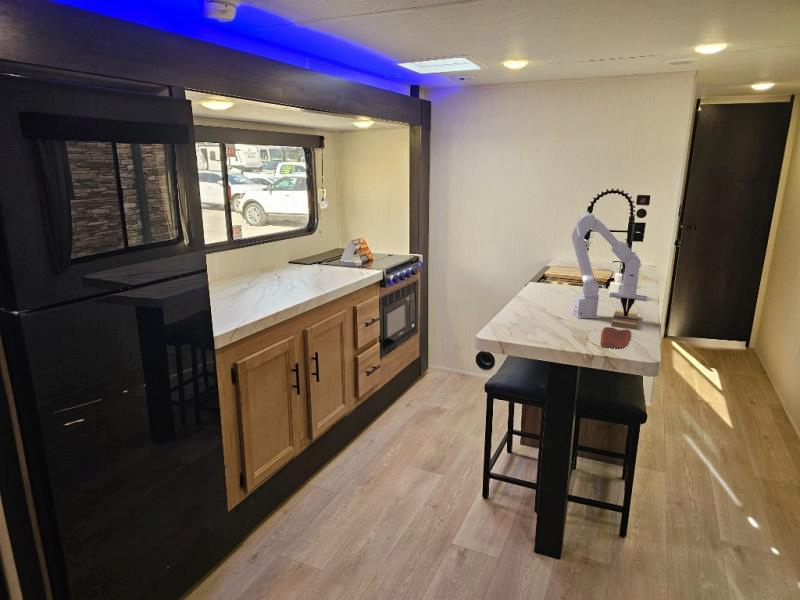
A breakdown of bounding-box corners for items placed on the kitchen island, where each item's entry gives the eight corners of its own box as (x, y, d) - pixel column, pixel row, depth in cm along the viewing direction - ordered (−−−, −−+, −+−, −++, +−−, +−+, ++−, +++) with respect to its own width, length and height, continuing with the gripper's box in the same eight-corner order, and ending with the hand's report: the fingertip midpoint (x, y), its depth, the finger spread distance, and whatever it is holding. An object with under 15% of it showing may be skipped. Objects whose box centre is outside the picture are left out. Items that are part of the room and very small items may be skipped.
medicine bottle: (620, 294, 267) (623, 271, 264) (629, 298, 260) (632, 274, 257) (608, 295, 265) (611, 272, 262) (617, 298, 258) (620, 275, 255)
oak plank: (636, 323, 217) (636, 318, 217) (613, 319, 221) (613, 315, 220) (637, 316, 227) (638, 312, 226) (615, 313, 230) (615, 309, 230)
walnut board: (635, 329, 209) (636, 323, 208) (611, 326, 212) (612, 320, 212) (636, 324, 216) (637, 318, 215) (612, 321, 219) (613, 315, 219)
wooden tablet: (603, 329, 211) (603, 325, 210) (630, 332, 206) (630, 328, 206) (596, 348, 187) (597, 344, 187) (627, 353, 183) (627, 348, 183)
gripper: (649, 284, 218) (644, 315, 221) (612, 280, 224) (608, 311, 227) (648, 287, 212) (644, 319, 215) (610, 283, 218) (606, 315, 221)
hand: (625, 315), depth 221 cm, fingers closed
